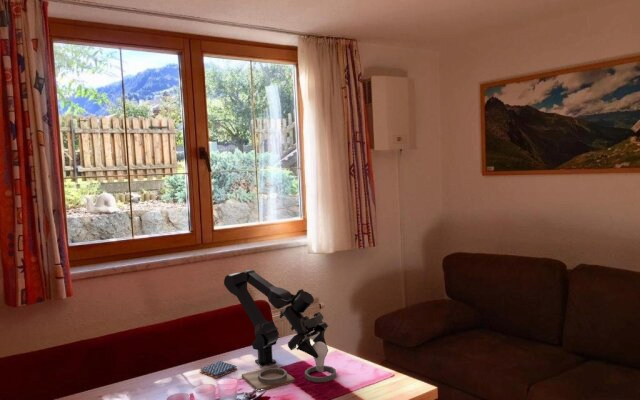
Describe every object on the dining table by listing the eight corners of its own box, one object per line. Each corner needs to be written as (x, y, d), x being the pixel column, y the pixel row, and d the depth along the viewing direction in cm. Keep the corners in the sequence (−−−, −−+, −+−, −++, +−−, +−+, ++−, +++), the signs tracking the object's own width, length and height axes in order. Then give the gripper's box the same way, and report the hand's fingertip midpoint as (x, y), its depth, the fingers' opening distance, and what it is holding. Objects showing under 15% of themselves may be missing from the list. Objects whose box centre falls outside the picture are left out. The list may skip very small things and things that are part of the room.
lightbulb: (329, 368, 182) (328, 339, 182) (327, 375, 176) (326, 345, 176) (312, 368, 183) (311, 339, 182) (310, 375, 177) (309, 345, 176)
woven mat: (220, 364, 196) (220, 359, 196) (238, 370, 189) (238, 365, 189) (198, 373, 188) (198, 368, 188) (216, 380, 181) (216, 374, 181)
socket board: (241, 377, 181) (241, 370, 181) (276, 368, 188) (276, 361, 188) (258, 391, 168) (257, 384, 168) (294, 381, 175) (294, 374, 175)
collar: (299, 374, 182) (299, 370, 181) (325, 367, 187) (325, 363, 187) (314, 384, 172) (314, 380, 172) (341, 377, 178) (341, 372, 177)
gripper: (293, 313, 173) (320, 350, 167) (323, 300, 188) (349, 334, 182) (276, 332, 178) (302, 368, 172) (307, 318, 193) (332, 351, 187)
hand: (322, 354), depth 178 cm, fingers closed on lightbulb, 6 cm apart
